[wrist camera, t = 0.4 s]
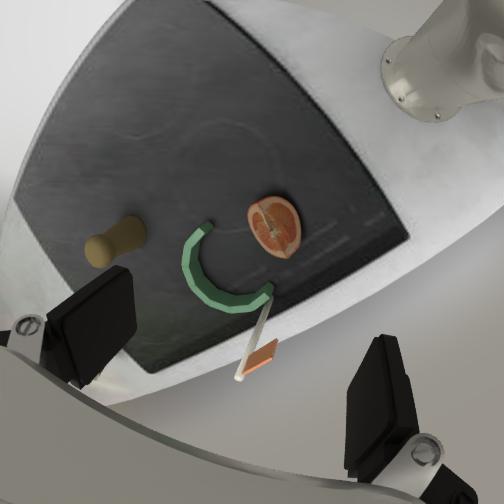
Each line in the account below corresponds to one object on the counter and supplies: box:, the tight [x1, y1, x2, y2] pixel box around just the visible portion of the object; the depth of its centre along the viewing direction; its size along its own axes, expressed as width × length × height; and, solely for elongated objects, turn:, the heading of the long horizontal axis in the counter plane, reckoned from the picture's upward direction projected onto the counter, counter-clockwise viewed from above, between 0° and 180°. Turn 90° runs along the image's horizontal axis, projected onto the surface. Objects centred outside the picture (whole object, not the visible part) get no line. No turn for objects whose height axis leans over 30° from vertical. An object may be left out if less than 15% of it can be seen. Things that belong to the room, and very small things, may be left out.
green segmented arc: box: [181, 221, 278, 381], centre depth 37 cm, size 12×16×18 cm
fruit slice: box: [247, 196, 301, 259], centre depth 39 cm, size 8×7×5 cm
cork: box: [85, 216, 147, 268], centre depth 43 cm, size 6×6×11 cm
